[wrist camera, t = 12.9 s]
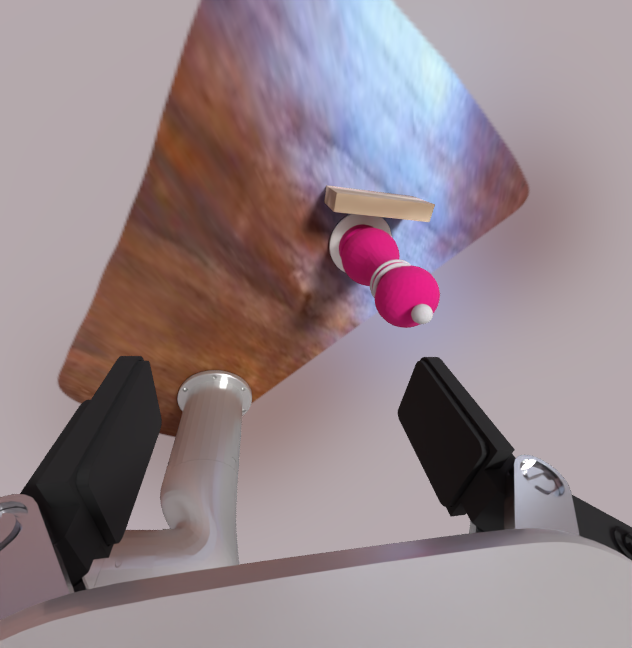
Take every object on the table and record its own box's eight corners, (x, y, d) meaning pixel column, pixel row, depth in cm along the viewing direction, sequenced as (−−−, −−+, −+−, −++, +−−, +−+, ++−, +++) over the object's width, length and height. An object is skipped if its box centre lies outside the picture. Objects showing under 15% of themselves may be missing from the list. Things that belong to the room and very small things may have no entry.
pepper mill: (373, 274, 44) (442, 357, 27) (328, 265, 42) (373, 348, 25) (392, 226, 41) (483, 288, 24) (343, 214, 39) (407, 272, 22)
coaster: (381, 275, 45) (383, 276, 45) (325, 271, 43) (325, 273, 43) (397, 214, 40) (399, 215, 40) (334, 207, 39) (335, 208, 38)
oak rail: (408, 211, 40) (429, 221, 35) (324, 202, 38) (333, 211, 33) (412, 196, 39) (434, 204, 34) (326, 185, 37) (336, 192, 32)
